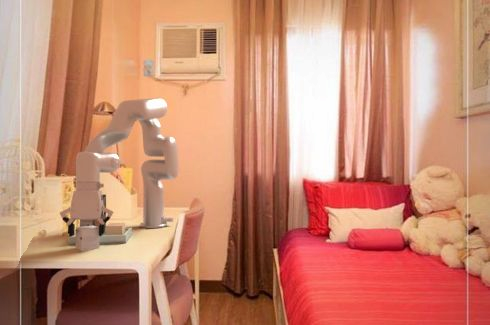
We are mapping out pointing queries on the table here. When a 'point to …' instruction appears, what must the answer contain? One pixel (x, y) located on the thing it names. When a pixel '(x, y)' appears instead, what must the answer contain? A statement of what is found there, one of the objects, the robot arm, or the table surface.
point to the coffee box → (94, 221)
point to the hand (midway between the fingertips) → (86, 235)
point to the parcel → (115, 229)
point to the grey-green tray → (107, 238)
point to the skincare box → (87, 238)
